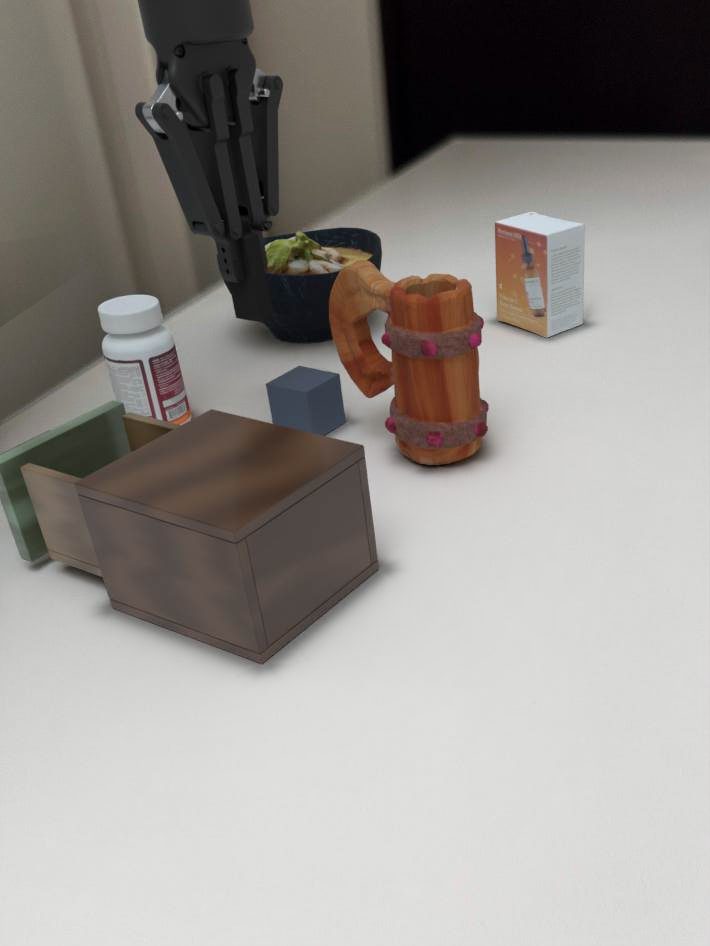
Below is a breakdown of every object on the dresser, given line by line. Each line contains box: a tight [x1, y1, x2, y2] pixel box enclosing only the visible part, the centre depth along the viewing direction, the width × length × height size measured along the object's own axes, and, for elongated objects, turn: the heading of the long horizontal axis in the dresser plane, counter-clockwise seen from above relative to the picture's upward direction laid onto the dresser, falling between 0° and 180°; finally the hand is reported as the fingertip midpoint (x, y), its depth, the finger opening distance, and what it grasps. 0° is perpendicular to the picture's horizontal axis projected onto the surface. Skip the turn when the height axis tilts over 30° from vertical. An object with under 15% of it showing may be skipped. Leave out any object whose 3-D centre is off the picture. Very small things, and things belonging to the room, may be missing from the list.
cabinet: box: [74, 408, 380, 664], centre depth 71 cm, size 14×13×10 cm
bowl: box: [216, 227, 383, 344], centre depth 112 cm, size 17×17×10 cm
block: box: [265, 365, 347, 436], centre depth 93 cm, size 5×5×5 cm
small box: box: [494, 211, 586, 339], centre depth 111 cm, size 8×6×10 cm
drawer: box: [0, 399, 181, 578], centre depth 76 cm, size 18×11×8 cm, turn 59°
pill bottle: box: [97, 294, 192, 425], centre depth 93 cm, size 6×6×11 cm
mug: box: [329, 260, 490, 466], centre depth 86 cm, size 15×8×15 cm, turn 56°
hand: (254, 317), depth 85 cm, fingers closed
